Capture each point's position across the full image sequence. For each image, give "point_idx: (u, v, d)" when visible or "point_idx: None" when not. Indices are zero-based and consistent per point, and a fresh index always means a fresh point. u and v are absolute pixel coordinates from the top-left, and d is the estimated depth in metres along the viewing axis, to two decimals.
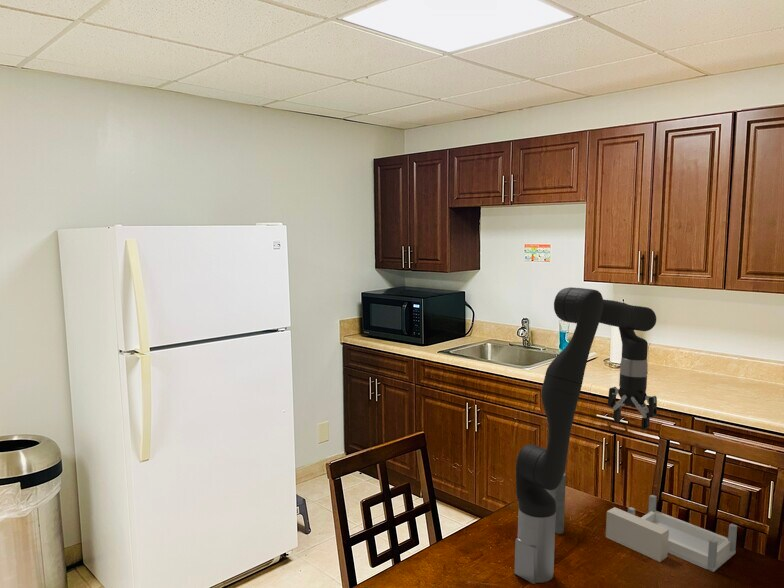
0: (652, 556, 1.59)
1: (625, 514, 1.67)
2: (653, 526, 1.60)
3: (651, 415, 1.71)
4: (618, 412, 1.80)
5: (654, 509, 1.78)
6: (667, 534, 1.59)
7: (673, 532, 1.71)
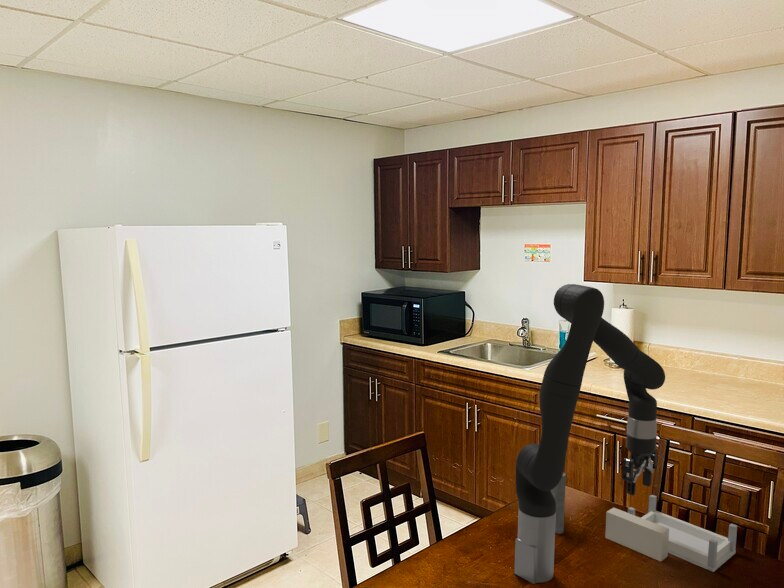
0: (653, 556, 1.59)
1: (624, 514, 1.67)
2: (653, 526, 1.60)
3: (656, 466, 1.66)
4: None
5: (654, 509, 1.78)
6: (667, 533, 1.59)
7: (673, 532, 1.71)
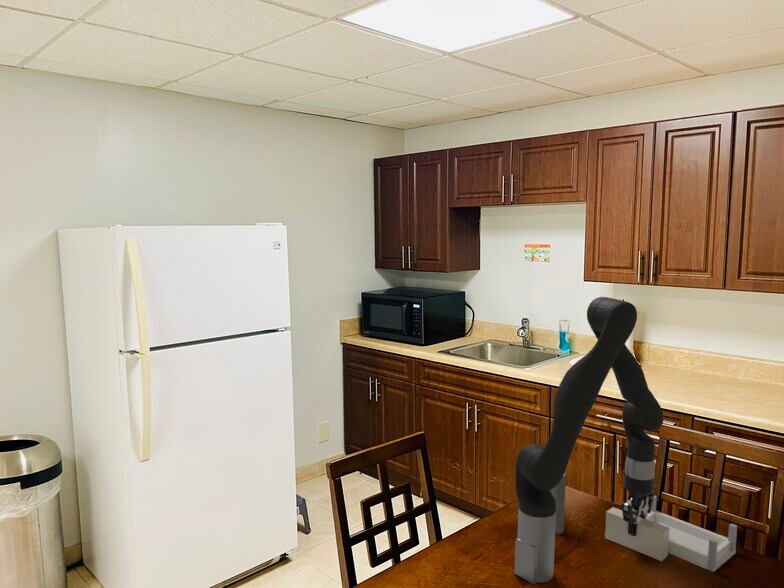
0: (654, 555, 1.59)
1: None
2: (653, 525, 1.61)
3: (650, 510, 1.66)
4: None
5: (654, 509, 1.78)
6: (668, 532, 1.59)
7: (673, 532, 1.71)
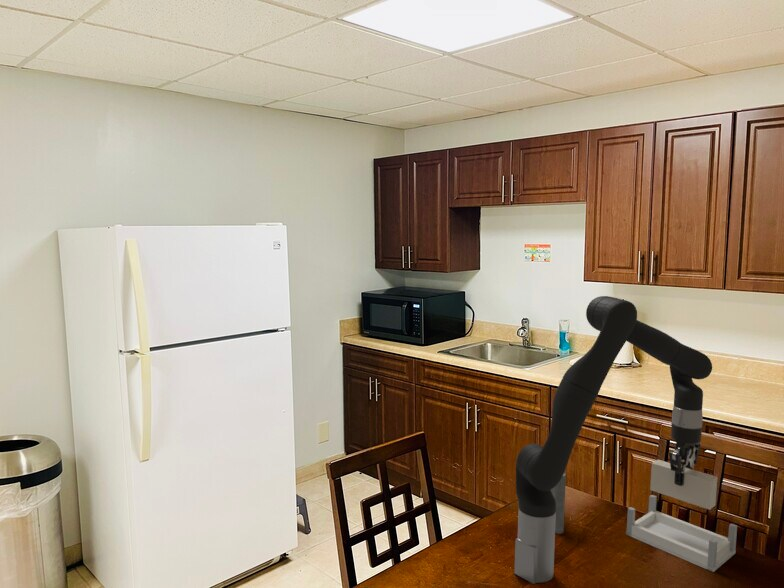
0: (701, 504, 1.59)
1: None
2: (701, 475, 1.60)
3: (696, 461, 1.66)
4: None
5: (654, 509, 1.78)
6: (716, 482, 1.59)
7: (673, 532, 1.71)
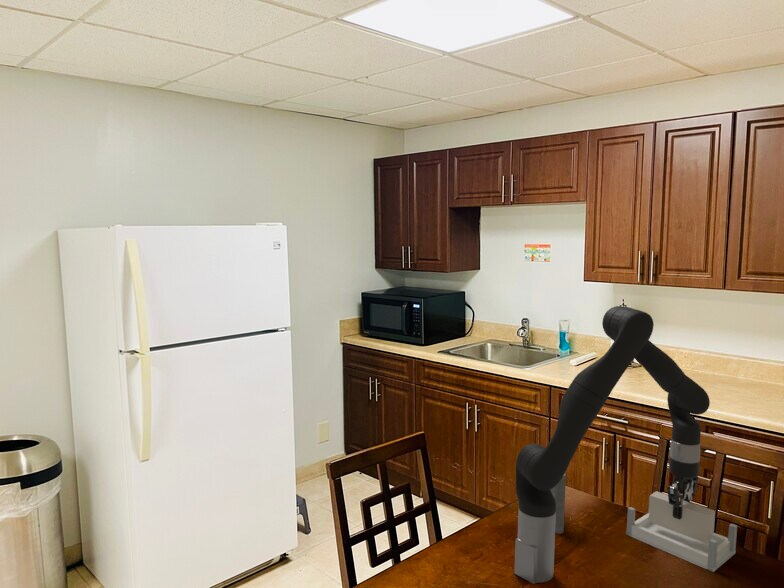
0: (699, 538, 1.60)
1: None
2: (699, 508, 1.62)
3: (694, 494, 1.67)
4: None
5: None
6: (714, 516, 1.60)
7: (673, 532, 1.71)
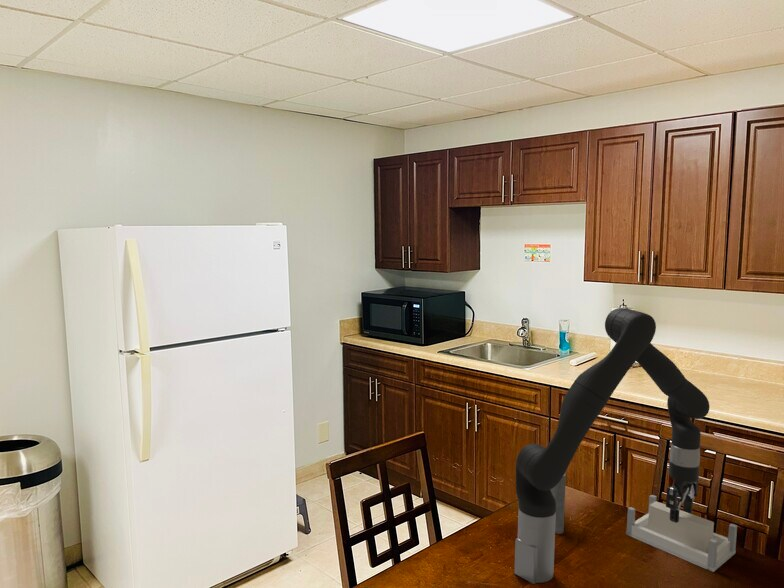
0: (697, 549, 1.60)
1: (667, 508, 1.68)
2: (698, 519, 1.62)
3: (696, 494, 1.68)
4: None
5: None
6: (712, 527, 1.60)
7: None
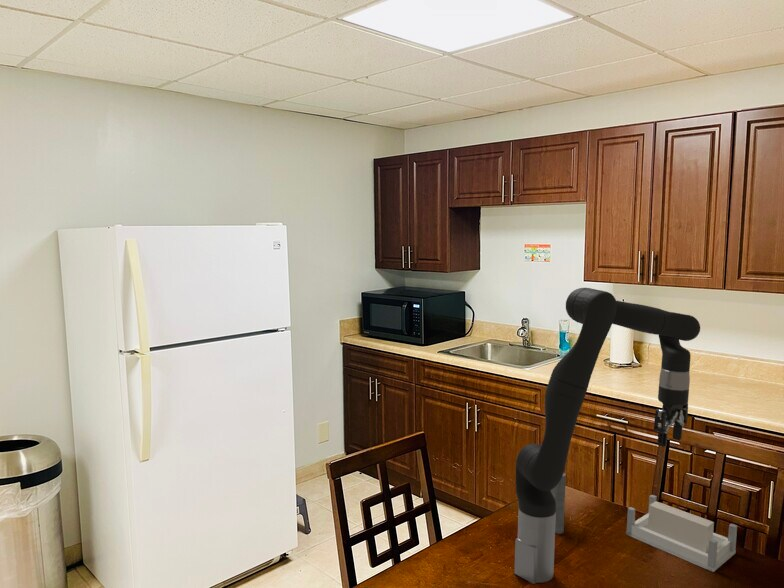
0: (697, 549, 1.60)
1: (667, 508, 1.68)
2: (698, 519, 1.62)
3: (686, 421, 1.67)
4: None
5: None
6: (712, 527, 1.60)
7: None
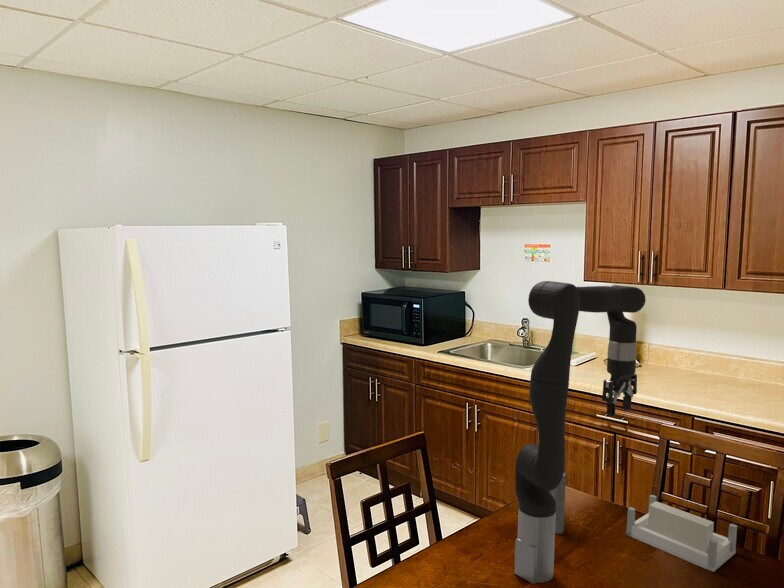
0: (697, 549, 1.60)
1: (667, 508, 1.68)
2: (698, 519, 1.62)
3: (636, 391, 1.71)
4: None
5: None
6: (712, 527, 1.60)
7: None
